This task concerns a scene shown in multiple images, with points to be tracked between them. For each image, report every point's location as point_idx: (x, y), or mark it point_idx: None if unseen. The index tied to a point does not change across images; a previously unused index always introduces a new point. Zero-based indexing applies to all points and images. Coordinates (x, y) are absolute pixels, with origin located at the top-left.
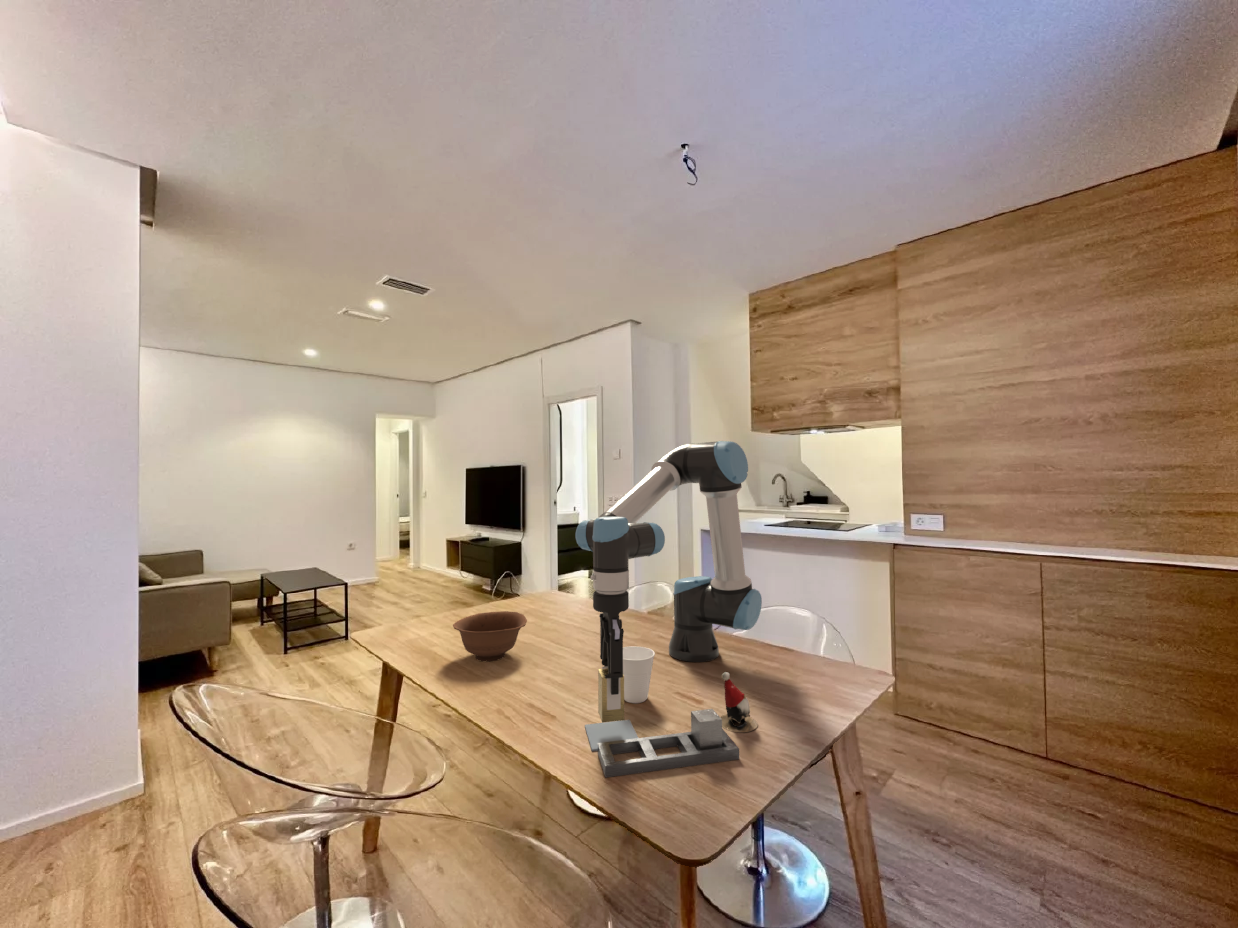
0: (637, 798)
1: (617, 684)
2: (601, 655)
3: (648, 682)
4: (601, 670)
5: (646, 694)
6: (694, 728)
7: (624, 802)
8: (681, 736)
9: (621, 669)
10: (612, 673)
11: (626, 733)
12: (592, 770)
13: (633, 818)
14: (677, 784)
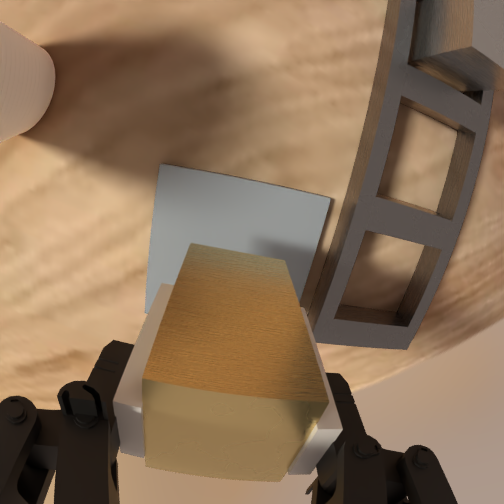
0: (474, 297)
1: (354, 417)
2: (52, 475)
3: (19, 36)
4: (171, 464)
5: (43, 52)
6: (467, 68)
7: (466, 321)
8: (407, 85)
9: (444, 490)
10: (405, 501)
11: (250, 215)
12: (359, 350)
13: (493, 318)
14: (493, 206)
